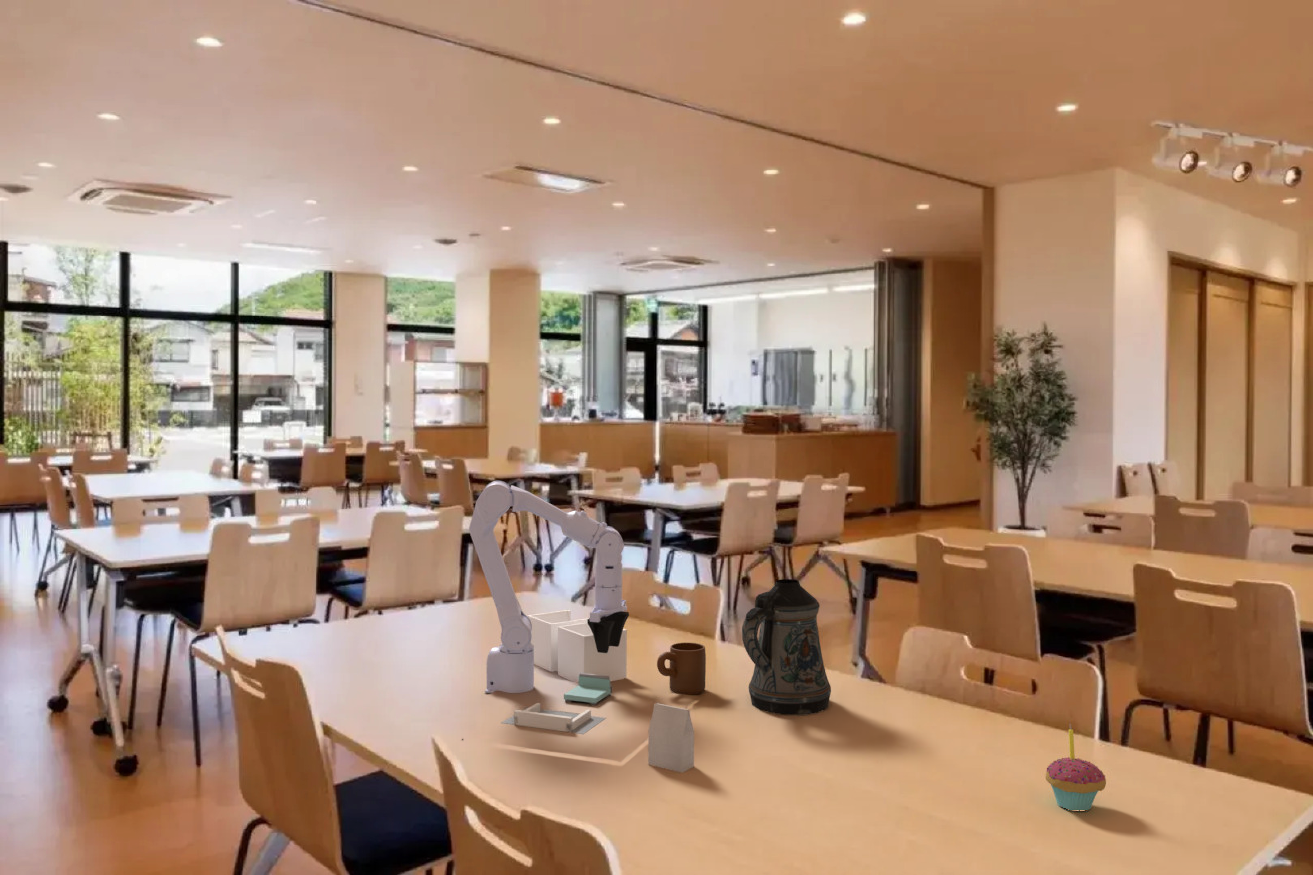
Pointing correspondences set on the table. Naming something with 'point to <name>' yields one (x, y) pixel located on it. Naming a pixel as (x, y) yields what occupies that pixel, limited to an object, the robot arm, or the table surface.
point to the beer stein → (786, 652)
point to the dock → (554, 720)
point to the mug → (685, 668)
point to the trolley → (590, 689)
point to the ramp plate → (562, 711)
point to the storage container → (574, 648)
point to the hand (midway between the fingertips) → (608, 649)
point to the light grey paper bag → (671, 738)
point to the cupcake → (1075, 780)
